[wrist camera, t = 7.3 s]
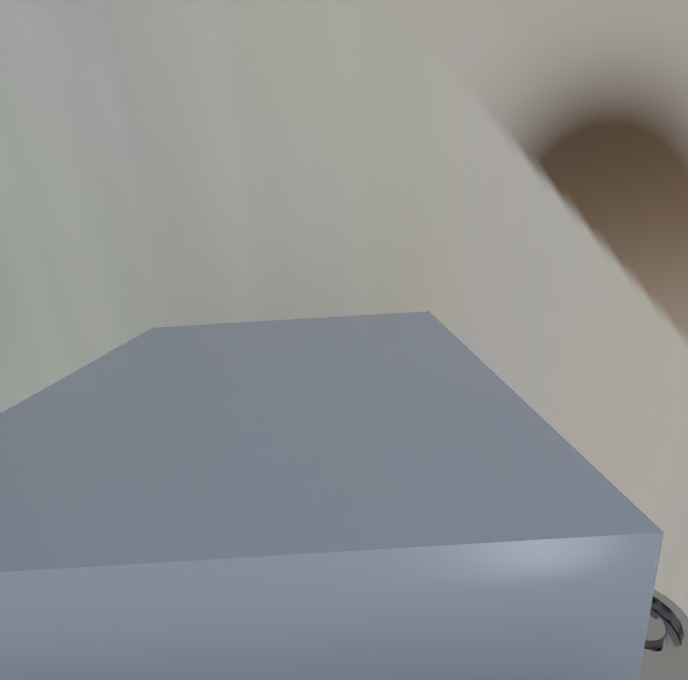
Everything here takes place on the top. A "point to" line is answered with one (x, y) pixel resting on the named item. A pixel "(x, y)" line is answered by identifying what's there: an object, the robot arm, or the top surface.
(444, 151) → the top surface
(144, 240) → the top surface
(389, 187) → the top surface
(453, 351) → the pale blue-grey cube
